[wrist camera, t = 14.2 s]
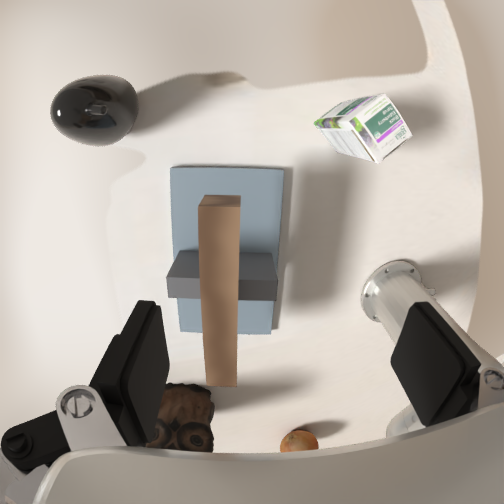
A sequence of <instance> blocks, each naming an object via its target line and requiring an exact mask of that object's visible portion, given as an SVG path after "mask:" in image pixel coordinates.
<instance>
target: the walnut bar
mask: <svg viewBox="0 0 504 504" xmlns="http://www.w3.org/2000/svg"><path fill="white" fill-rule="evenodd" d="M240 208H241V195H204V197H203V199H202V200H201V202H200V204H199V205H198V243H199V274H200V297H201V315H202V331H203V346H204V359H205V371H206V383H207V386H227V387H237V326H238V279H239V241H240Z"/></svg>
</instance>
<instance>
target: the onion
mask: <svg viewBox="0 0 504 504" xmlns="http://www.w3.org/2000/svg"><path fill="white" fill-rule="evenodd" d="M317 449H318V441H317V439H316V438H315V436H314V435H313V434H312V433H310V432H308V431H304V430H297V431H293V432H290V433H289V434H287V435H286V436H285V437H284V439H283V440H282V442H281V445H280V451H281V452H295V451H307V450H317Z"/></svg>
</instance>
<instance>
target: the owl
mask: <svg viewBox="0 0 504 504" xmlns="http://www.w3.org/2000/svg"><path fill="white" fill-rule="evenodd" d="M210 396H211V392H210V391H209V390H207V389H205V388H203V387H201V386H199V385H196V384H190V385H184V384H183V383H181V384H174V385H173V384H172V383H168V384H166V385H165V389H164V393H163V397H162V401H161V405H160V409H159V413H158V417H157V422H156V426H155V430H154V435H153V439H152V442H151V443H146V448H157V449H169V450H179V451H191V452H207V453H212V452H213V446H214V444H213V441H214V437H213V434H212V431H211V427H210V423H211V421H212V418H213V415H214V409H215V406H214V403H213V402H211V400H210Z"/></svg>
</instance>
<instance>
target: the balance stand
mask: <svg viewBox="0 0 504 504" xmlns="http://www.w3.org/2000/svg"><path fill="white" fill-rule="evenodd" d="M283 180H284V170H283V169H264V168H236V167H172V168H170V188H171V219H172V239H173V256H174V263H173V265H172V267H171V269H170V271H169V273H168V275H167V277H166V279H167V289H168V298H177V304H178V314H179V323H180V332H198V333H203V331H202V315H201V297H200V274H199V243H198V205H199V204H200V202H201V200H202V199H203V197H204V195H241V208H240V241H239V279H238V326H237V334H271V328H272V318H273V307H274V301H276V296H277V285H278V279H277V262H278V249H279V237H280V223H281V210H282V195H283Z"/></svg>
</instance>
